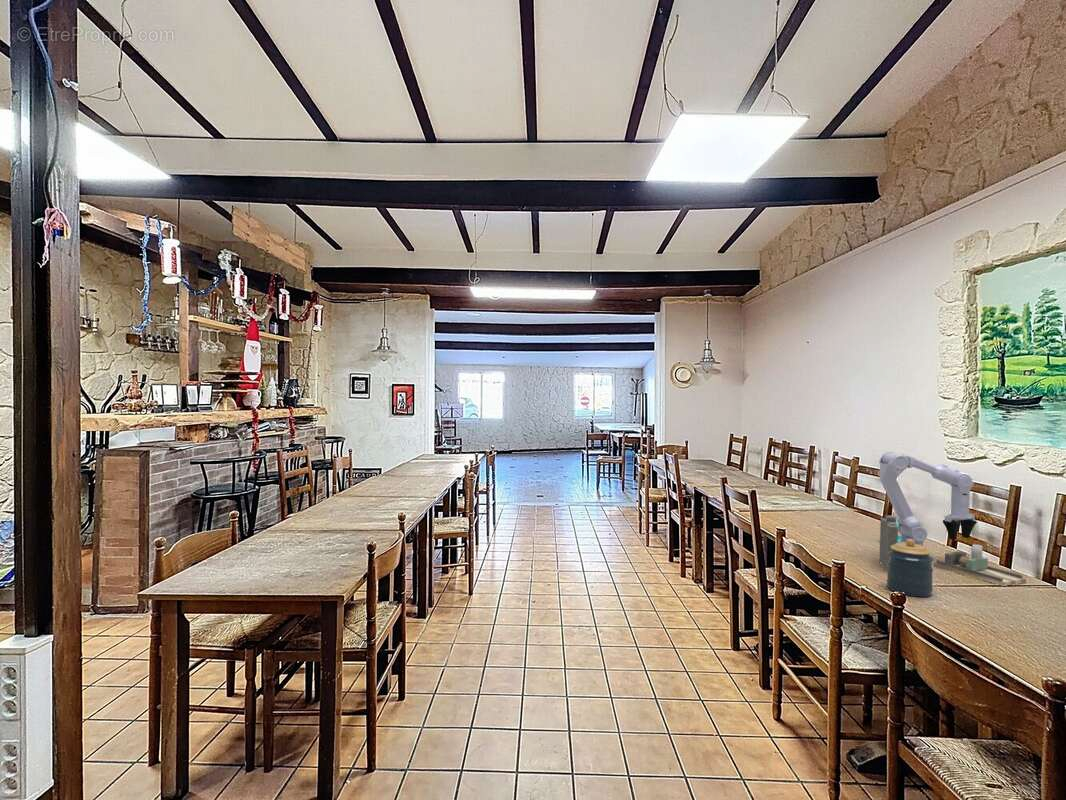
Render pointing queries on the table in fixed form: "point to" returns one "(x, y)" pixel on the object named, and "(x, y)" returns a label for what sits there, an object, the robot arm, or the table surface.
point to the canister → (910, 569)
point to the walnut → (963, 560)
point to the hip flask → (887, 537)
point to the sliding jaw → (977, 559)
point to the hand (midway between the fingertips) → (959, 538)
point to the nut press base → (979, 571)
